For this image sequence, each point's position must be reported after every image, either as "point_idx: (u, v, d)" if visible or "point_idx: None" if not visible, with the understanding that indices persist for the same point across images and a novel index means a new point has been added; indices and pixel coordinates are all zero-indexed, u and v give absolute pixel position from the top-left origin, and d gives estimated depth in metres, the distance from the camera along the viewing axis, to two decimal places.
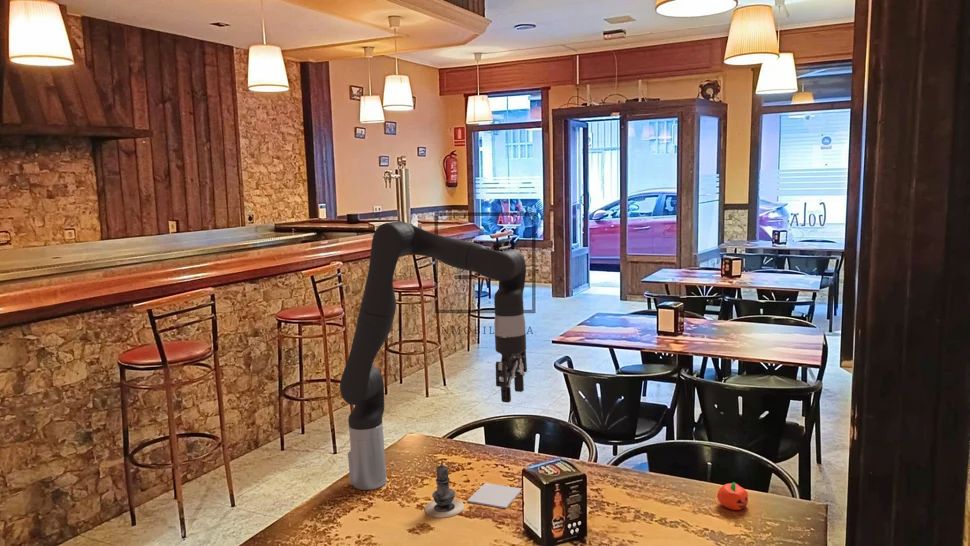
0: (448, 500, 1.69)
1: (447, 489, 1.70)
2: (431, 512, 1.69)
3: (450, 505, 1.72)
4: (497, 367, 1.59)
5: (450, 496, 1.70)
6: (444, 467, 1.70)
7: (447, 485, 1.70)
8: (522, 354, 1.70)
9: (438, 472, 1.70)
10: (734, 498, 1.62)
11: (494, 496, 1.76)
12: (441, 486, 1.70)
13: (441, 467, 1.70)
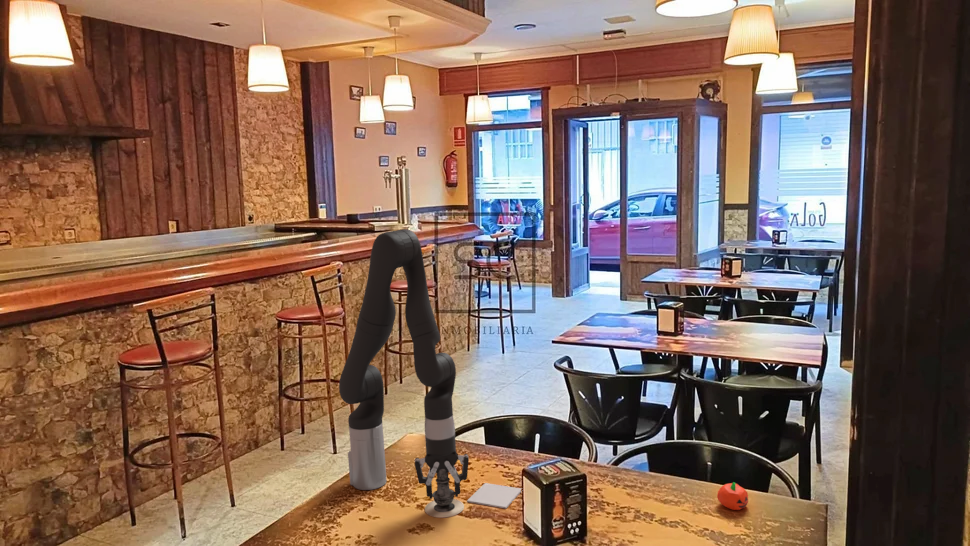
0: (448, 500, 1.69)
1: (447, 488, 1.70)
2: (431, 512, 1.69)
3: (450, 505, 1.72)
4: None
5: (450, 496, 1.70)
6: None
7: (447, 485, 1.70)
8: None
9: (438, 472, 1.70)
10: (734, 498, 1.62)
11: (494, 496, 1.76)
12: (441, 486, 1.70)
13: None
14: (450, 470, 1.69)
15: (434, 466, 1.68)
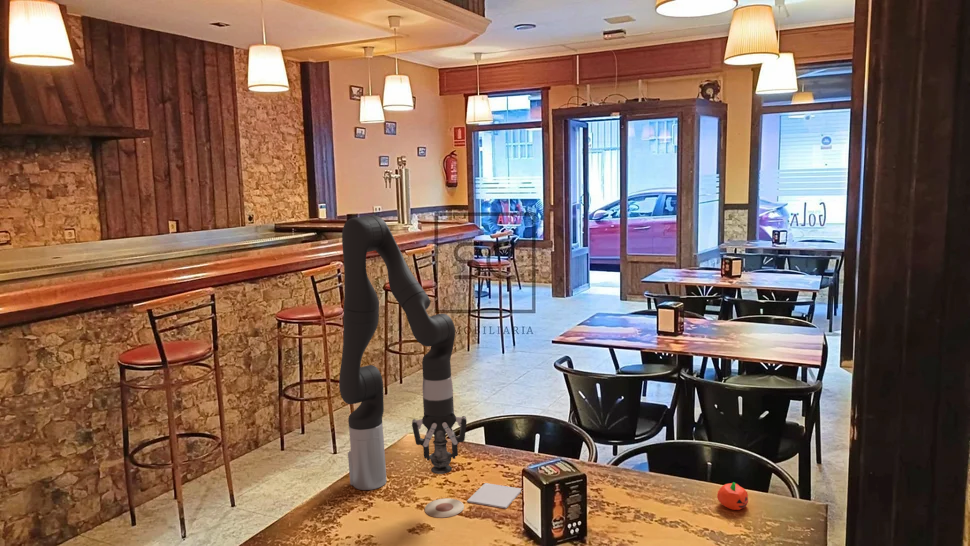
0: (445, 462, 1.68)
1: (444, 450, 1.69)
2: (431, 512, 1.69)
3: (447, 467, 1.71)
4: None
5: (447, 458, 1.69)
6: None
7: (444, 447, 1.69)
8: None
9: None
10: (734, 498, 1.62)
11: (494, 496, 1.76)
12: (438, 448, 1.69)
13: None
14: (448, 432, 1.68)
15: (432, 427, 1.67)
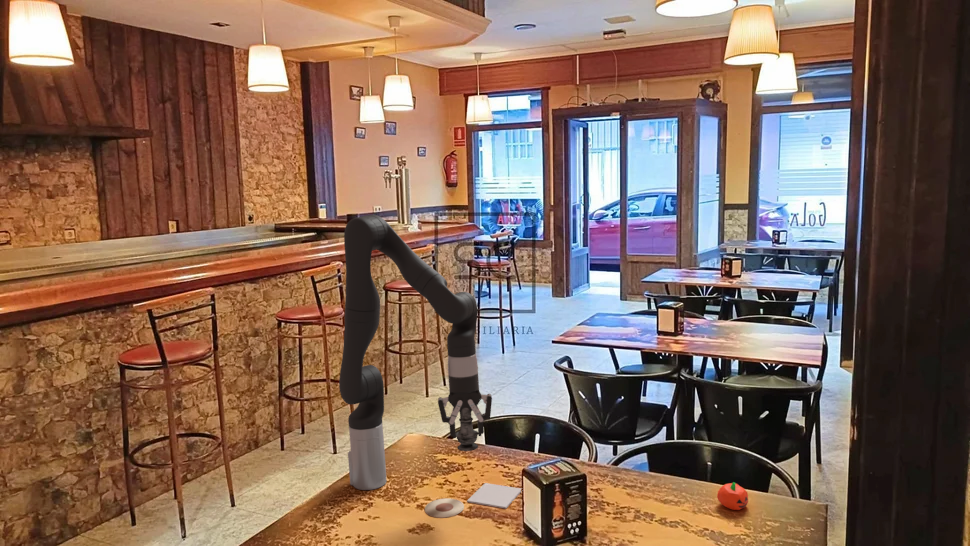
0: (471, 439, 1.69)
1: (470, 428, 1.70)
2: (431, 512, 1.69)
3: (473, 445, 1.72)
4: None
5: (473, 435, 1.70)
6: None
7: (470, 424, 1.70)
8: None
9: (461, 411, 1.70)
10: (734, 498, 1.62)
11: (494, 496, 1.76)
12: (464, 425, 1.70)
13: None
14: (473, 409, 1.69)
15: (457, 404, 1.69)
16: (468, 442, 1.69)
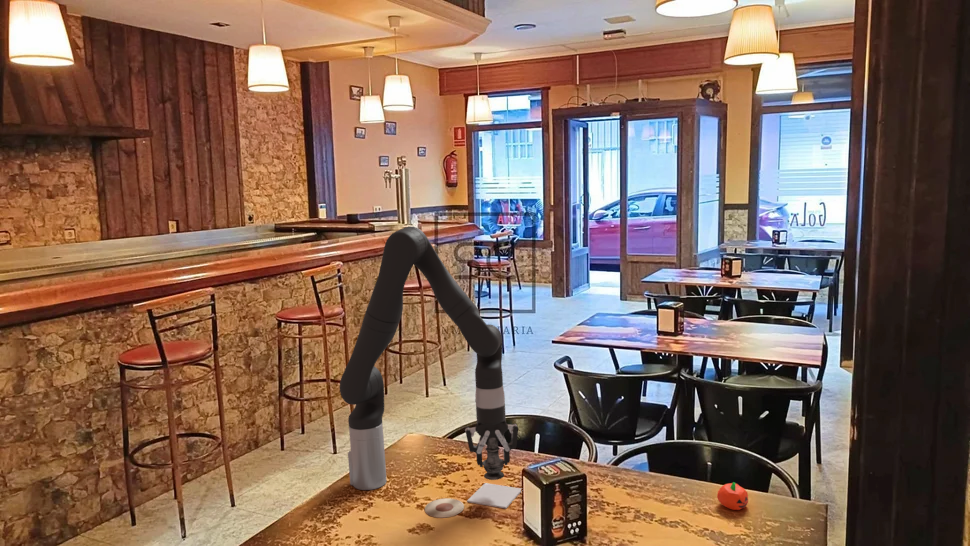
0: (498, 468, 1.74)
1: (497, 457, 1.75)
2: (431, 512, 1.69)
3: (500, 473, 1.76)
4: None
5: (500, 464, 1.74)
6: None
7: (497, 454, 1.75)
8: None
9: None
10: (734, 498, 1.62)
11: (494, 496, 1.76)
12: (491, 454, 1.74)
13: None
14: (500, 439, 1.74)
15: (485, 435, 1.73)
16: (495, 471, 1.74)
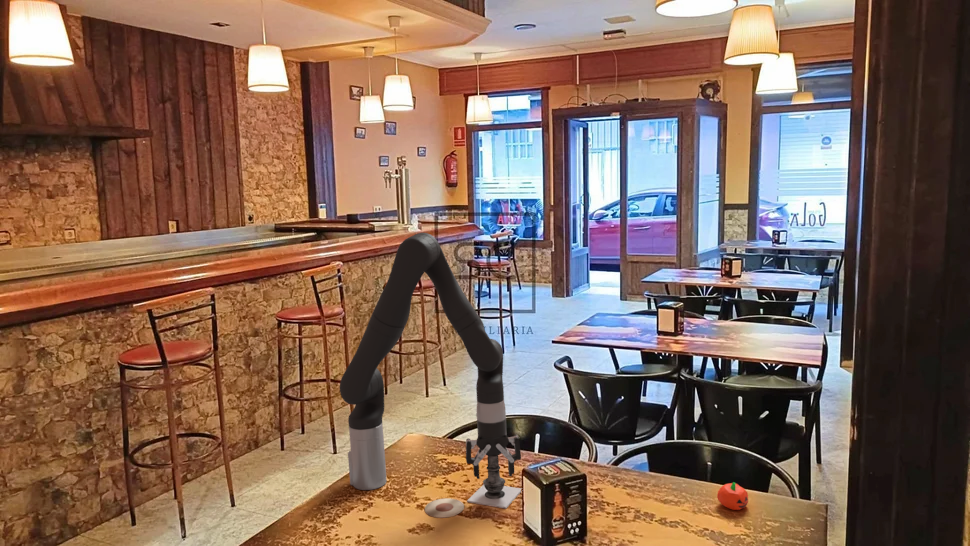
0: (499, 487, 1.75)
1: (497, 476, 1.75)
2: (431, 512, 1.69)
3: (500, 492, 1.77)
4: None
5: (501, 483, 1.75)
6: (495, 455, 1.75)
7: (498, 473, 1.76)
8: None
9: (489, 460, 1.75)
10: (734, 498, 1.62)
11: None
12: (492, 473, 1.75)
13: (492, 455, 1.75)
14: (503, 452, 1.74)
15: (485, 448, 1.73)
16: (496, 490, 1.74)
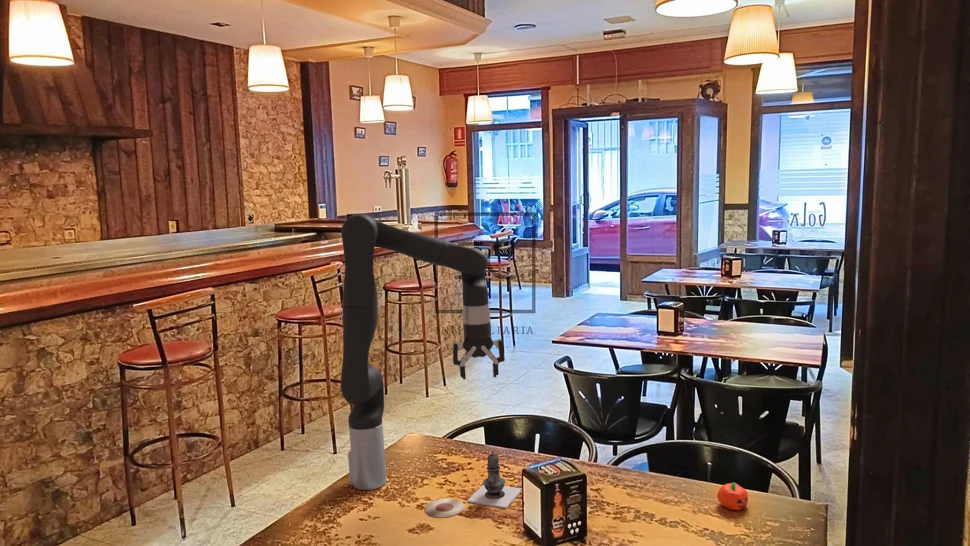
0: (499, 487, 1.75)
1: (497, 476, 1.75)
2: (431, 512, 1.69)
3: (500, 492, 1.77)
4: None
5: (501, 484, 1.75)
6: (495, 455, 1.75)
7: (498, 473, 1.75)
8: None
9: (489, 460, 1.75)
10: (734, 498, 1.62)
11: None
12: (492, 474, 1.75)
13: (492, 455, 1.75)
14: (487, 353, 1.85)
15: (471, 350, 1.85)
16: (496, 490, 1.74)
